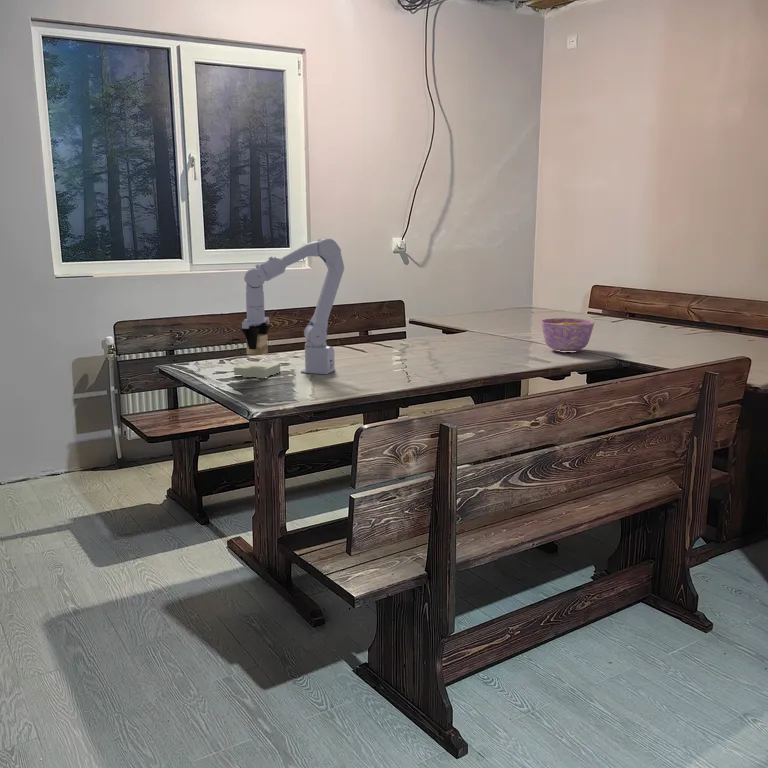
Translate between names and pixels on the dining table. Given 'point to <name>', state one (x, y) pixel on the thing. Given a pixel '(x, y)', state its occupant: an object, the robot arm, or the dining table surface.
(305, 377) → the dining table surface
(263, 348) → the maple block
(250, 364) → the sage slab
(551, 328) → the bowl of food
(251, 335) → the robot arm
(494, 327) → the dining table surface
